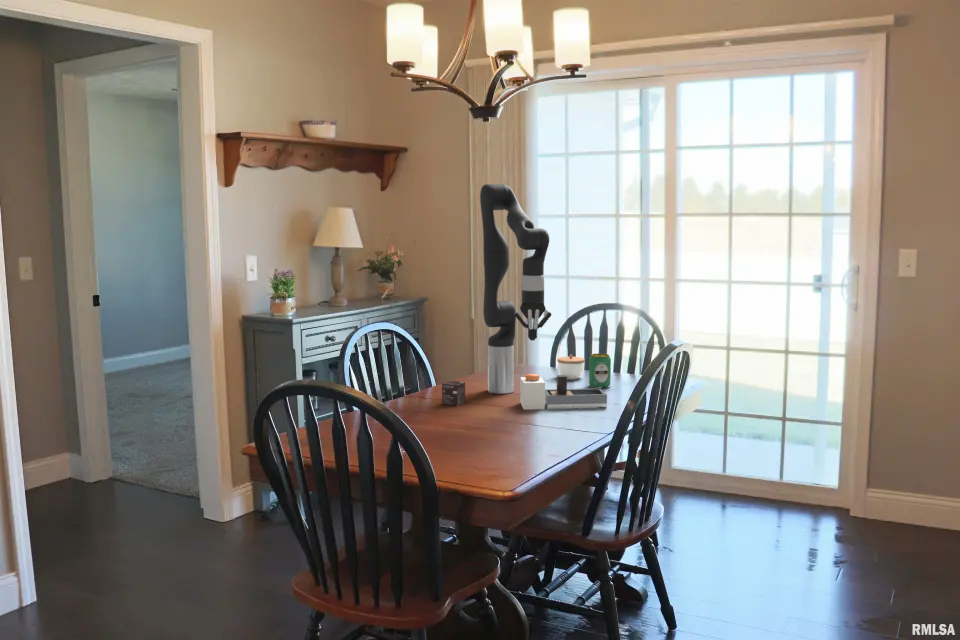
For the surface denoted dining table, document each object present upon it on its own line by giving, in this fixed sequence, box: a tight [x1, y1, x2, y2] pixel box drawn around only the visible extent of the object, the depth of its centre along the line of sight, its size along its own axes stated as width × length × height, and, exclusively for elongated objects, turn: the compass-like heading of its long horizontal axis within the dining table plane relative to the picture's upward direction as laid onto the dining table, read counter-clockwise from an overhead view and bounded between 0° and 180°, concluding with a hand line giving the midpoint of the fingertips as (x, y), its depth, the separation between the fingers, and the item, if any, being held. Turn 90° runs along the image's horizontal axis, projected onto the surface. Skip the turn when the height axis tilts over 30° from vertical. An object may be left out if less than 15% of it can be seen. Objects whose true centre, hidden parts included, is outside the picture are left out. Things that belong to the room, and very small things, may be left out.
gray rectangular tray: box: [545, 388, 608, 410], centre depth 280 cm, size 20×10×4 cm, turn 94°
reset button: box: [524, 373, 541, 381], centre depth 278 cm, size 5×5×5 cm
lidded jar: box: [556, 354, 586, 380], centre depth 327 cm, size 11×11×9 cm
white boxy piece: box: [519, 376, 546, 410], centre depth 279 cm, size 7×10×9 cm
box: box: [441, 380, 466, 407], centre depth 283 cm, size 6×6×7 cm
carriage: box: [550, 374, 573, 395], centre depth 279 cm, size 7×7×8 cm
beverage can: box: [588, 353, 612, 388], centre depth 310 cm, size 8×8×12 cm
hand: (532, 340), depth 277 cm, fingers closed
